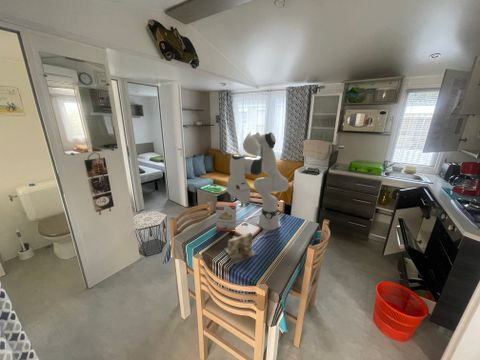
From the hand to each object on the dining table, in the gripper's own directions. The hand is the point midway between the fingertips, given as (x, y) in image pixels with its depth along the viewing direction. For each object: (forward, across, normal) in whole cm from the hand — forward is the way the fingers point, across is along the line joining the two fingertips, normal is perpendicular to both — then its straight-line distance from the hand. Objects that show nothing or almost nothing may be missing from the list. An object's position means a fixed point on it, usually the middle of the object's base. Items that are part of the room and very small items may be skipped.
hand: (237, 204), depth 120 cm
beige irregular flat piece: (+29, +6, -1) cm, 30 cm away
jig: (+30, +6, -1) cm, 31 cm away
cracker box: (+31, -21, +4) cm, 38 cm away
